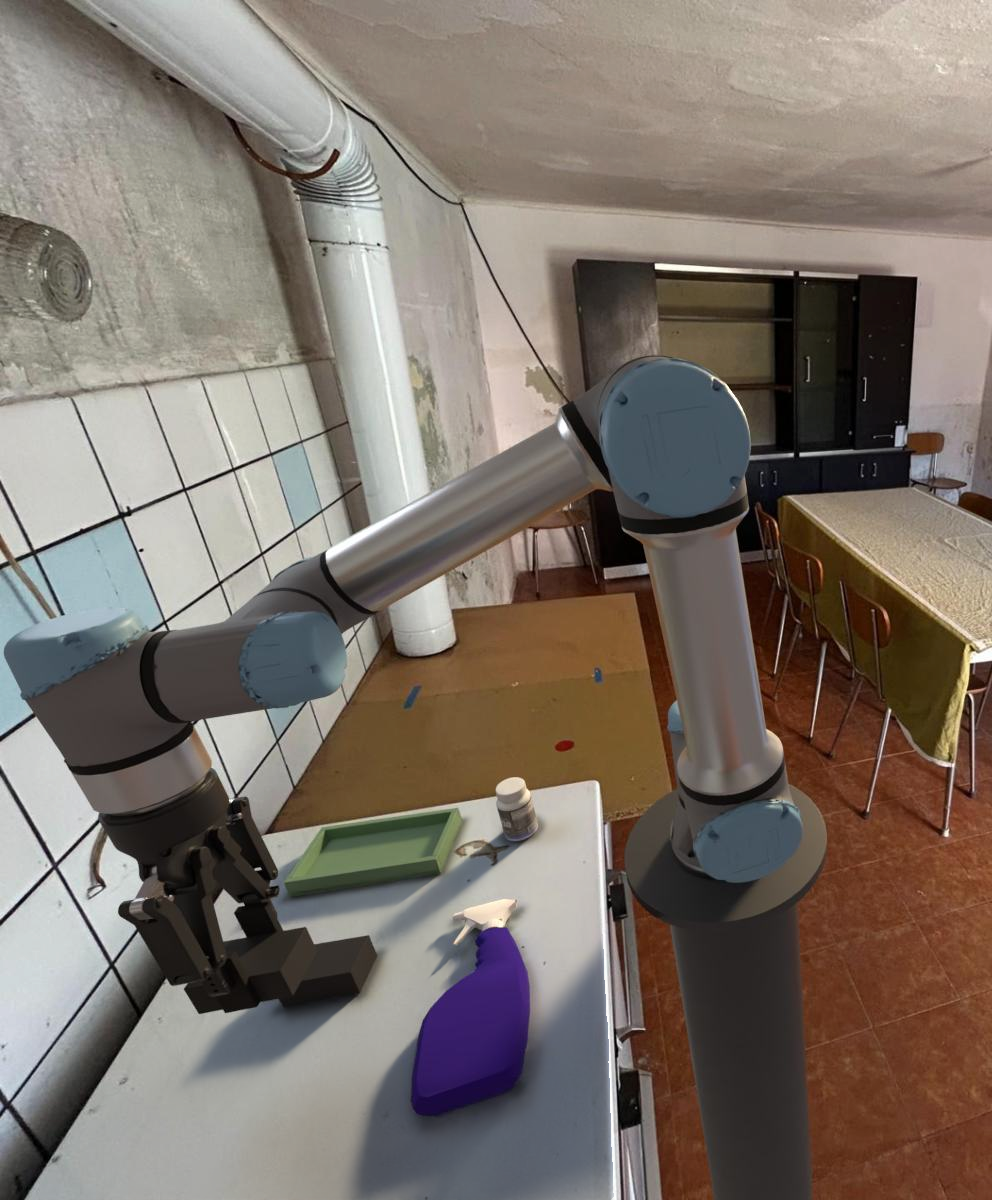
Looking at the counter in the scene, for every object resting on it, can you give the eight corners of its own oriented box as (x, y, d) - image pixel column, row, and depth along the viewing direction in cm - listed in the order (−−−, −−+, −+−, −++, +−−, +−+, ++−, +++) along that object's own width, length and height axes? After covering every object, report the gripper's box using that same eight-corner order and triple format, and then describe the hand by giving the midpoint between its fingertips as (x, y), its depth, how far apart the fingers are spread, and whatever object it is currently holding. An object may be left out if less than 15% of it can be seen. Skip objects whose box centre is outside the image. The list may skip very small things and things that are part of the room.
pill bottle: (500, 830, 98) (487, 785, 95) (531, 815, 101) (520, 770, 98) (511, 847, 95) (499, 801, 91) (543, 830, 98) (532, 785, 94)
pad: (317, 951, 67) (306, 926, 66) (293, 996, 63) (280, 971, 61) (230, 967, 66) (216, 942, 64) (198, 1014, 61) (183, 989, 60)
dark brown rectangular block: (377, 955, 79) (369, 934, 78) (360, 993, 75) (350, 972, 73) (305, 967, 78) (295, 947, 77) (282, 1007, 73) (271, 986, 72)
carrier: (462, 820, 100) (458, 807, 99) (440, 873, 91) (435, 859, 90) (327, 840, 97) (321, 827, 96) (290, 897, 88) (283, 882, 87)
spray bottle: (523, 1068, 64) (532, 883, 85) (397, 1111, 60) (439, 908, 82) (529, 1087, 65) (536, 900, 86) (406, 1131, 61) (445, 925, 83)
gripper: (177, 734, 62) (267, 911, 72) (7, 879, 46) (152, 1084, 55) (264, 722, 64) (342, 898, 73) (129, 860, 47) (251, 1064, 57)
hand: (260, 978), depth 64 cm, fingers closed on pad, 5 cm apart
